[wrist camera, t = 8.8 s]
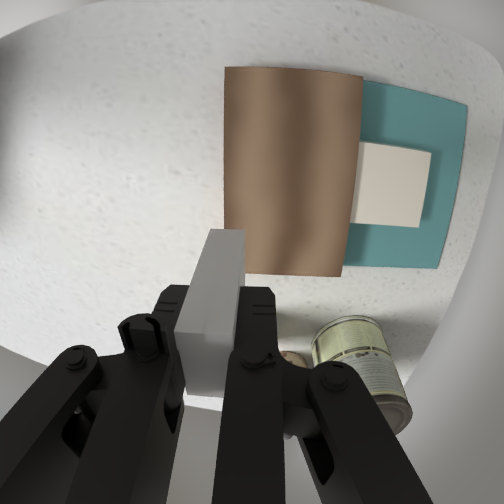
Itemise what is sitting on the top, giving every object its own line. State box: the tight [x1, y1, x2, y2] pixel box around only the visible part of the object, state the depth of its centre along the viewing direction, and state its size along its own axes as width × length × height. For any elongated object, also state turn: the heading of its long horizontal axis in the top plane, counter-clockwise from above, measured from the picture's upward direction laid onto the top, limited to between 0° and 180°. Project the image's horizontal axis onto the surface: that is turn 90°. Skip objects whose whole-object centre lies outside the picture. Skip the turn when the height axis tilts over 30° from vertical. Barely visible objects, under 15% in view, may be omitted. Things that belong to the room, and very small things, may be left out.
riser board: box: [224, 67, 363, 277], centre depth 28 cm, size 12×20×3 cm, turn 179°
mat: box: [343, 80, 467, 269], centre depth 29 cm, size 13×20×1 cm, turn 179°
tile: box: [350, 140, 431, 228], centre depth 28 cm, size 8×8×2 cm
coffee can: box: [311, 316, 413, 435], centre depth 33 cm, size 10×10×14 cm
